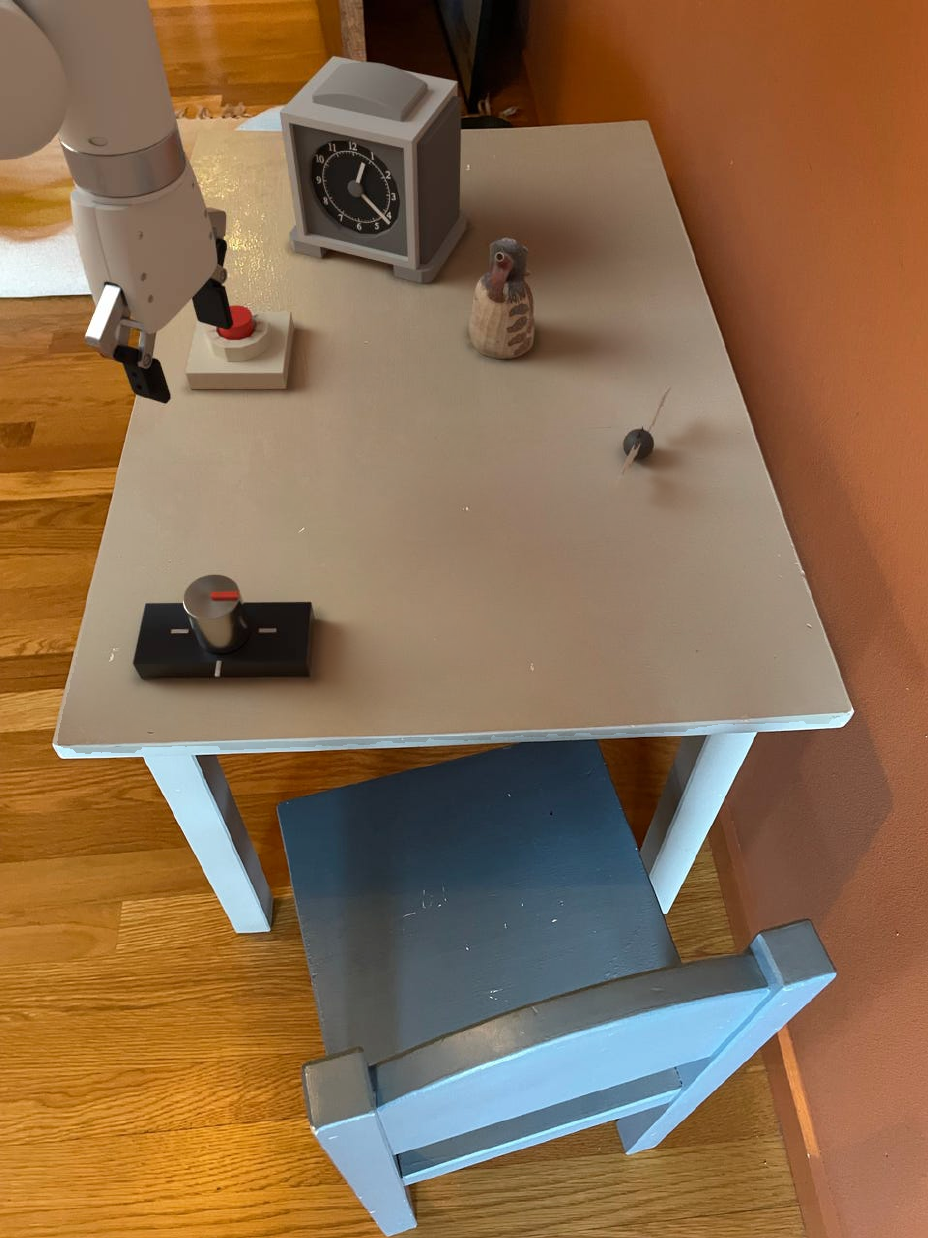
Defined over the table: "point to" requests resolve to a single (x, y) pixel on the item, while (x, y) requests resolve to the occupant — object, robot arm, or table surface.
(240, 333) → the power button
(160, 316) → the robot arm
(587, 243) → the table surface
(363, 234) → the alarm clock
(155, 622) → the panel
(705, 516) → the table surface
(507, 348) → the figurine
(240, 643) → the knob
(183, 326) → the table surface
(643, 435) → the bat toy
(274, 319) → the switch box
